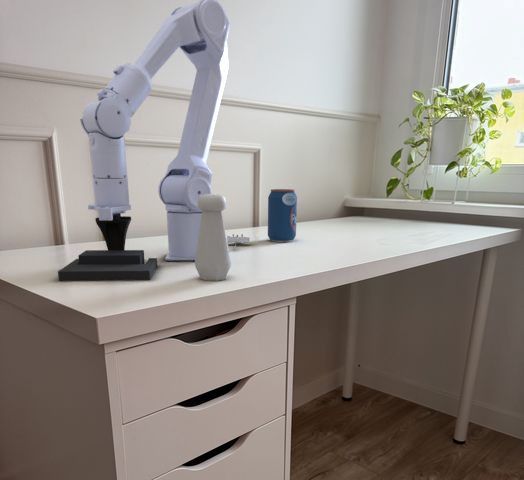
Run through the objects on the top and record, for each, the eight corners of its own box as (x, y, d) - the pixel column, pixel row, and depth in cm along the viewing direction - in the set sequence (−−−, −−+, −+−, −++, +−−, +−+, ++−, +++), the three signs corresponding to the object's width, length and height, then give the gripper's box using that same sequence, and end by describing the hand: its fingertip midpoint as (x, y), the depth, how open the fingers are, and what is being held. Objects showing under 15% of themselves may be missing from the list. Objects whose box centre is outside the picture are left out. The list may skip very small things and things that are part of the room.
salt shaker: (188, 279, 82) (185, 194, 78) (205, 273, 87) (203, 193, 83) (222, 283, 80) (220, 195, 76) (237, 276, 85) (236, 194, 81)
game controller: (246, 242, 123) (246, 231, 122) (259, 250, 113) (259, 238, 112) (223, 243, 122) (222, 232, 121) (233, 251, 111) (233, 238, 110)
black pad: (157, 266, 93) (156, 258, 92) (150, 280, 82) (149, 270, 81) (77, 267, 92) (76, 258, 91) (58, 281, 80) (57, 271, 80)
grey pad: (145, 266, 92) (143, 250, 91) (141, 272, 87) (139, 255, 86) (87, 267, 91) (85, 250, 90) (80, 273, 86) (78, 255, 85)
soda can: (298, 242, 125) (299, 190, 121) (269, 242, 124) (270, 190, 120) (292, 238, 131) (294, 189, 127) (265, 238, 130) (266, 189, 126)
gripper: (94, 177, 94) (101, 252, 98) (75, 178, 80) (84, 265, 85) (134, 177, 95) (139, 252, 99) (121, 179, 81) (128, 265, 86)
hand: (116, 258), depth 92 cm, fingers closed
